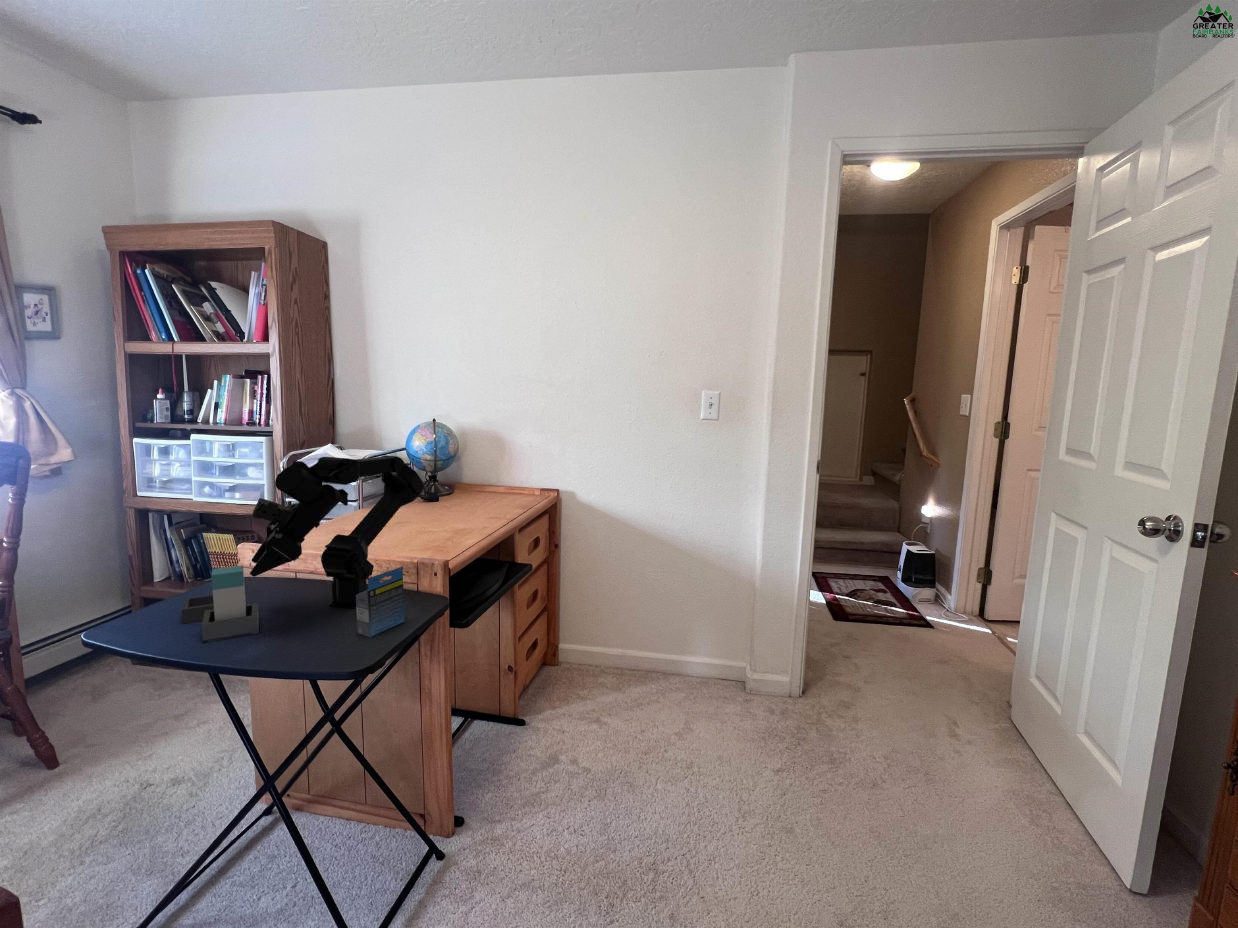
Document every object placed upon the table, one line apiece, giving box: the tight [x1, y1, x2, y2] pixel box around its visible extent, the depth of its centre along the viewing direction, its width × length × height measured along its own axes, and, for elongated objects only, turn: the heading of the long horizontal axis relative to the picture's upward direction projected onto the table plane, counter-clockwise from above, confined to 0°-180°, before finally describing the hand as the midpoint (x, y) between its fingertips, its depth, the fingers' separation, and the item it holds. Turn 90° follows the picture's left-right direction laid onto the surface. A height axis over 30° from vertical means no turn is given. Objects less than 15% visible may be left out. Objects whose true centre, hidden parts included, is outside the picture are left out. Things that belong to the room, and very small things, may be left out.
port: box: [201, 602, 260, 644], centre depth 115 cm, size 9×8×4 cm
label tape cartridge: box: [355, 566, 406, 638], centre depth 118 cm, size 9×4×12 cm, turn 152°
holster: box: [181, 593, 214, 624], centre depth 123 cm, size 8×7×3 cm
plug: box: [211, 565, 247, 621], centre depth 115 cm, size 5×4×12 cm
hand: (252, 568), depth 116 cm, fingers open, 9 cm apart
